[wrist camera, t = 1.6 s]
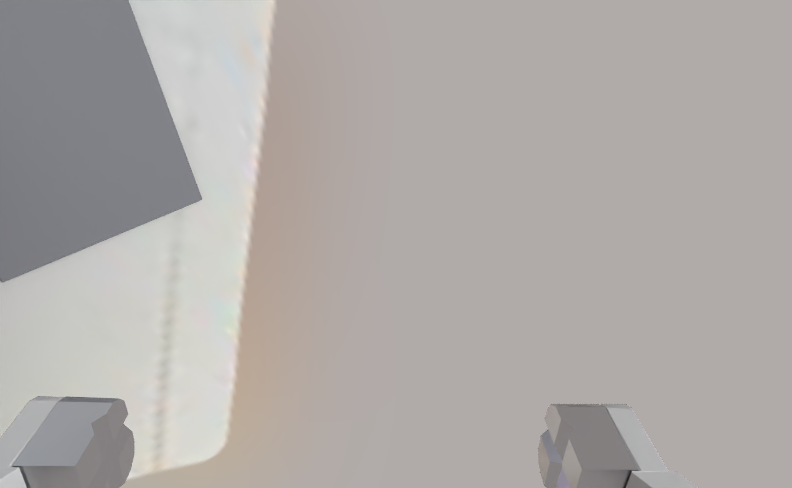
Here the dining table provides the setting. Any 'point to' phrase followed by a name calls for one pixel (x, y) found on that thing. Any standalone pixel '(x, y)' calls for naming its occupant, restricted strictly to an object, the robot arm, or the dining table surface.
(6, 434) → the robot arm
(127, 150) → the mat
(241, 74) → the dining table surface
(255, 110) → the dining table surface
